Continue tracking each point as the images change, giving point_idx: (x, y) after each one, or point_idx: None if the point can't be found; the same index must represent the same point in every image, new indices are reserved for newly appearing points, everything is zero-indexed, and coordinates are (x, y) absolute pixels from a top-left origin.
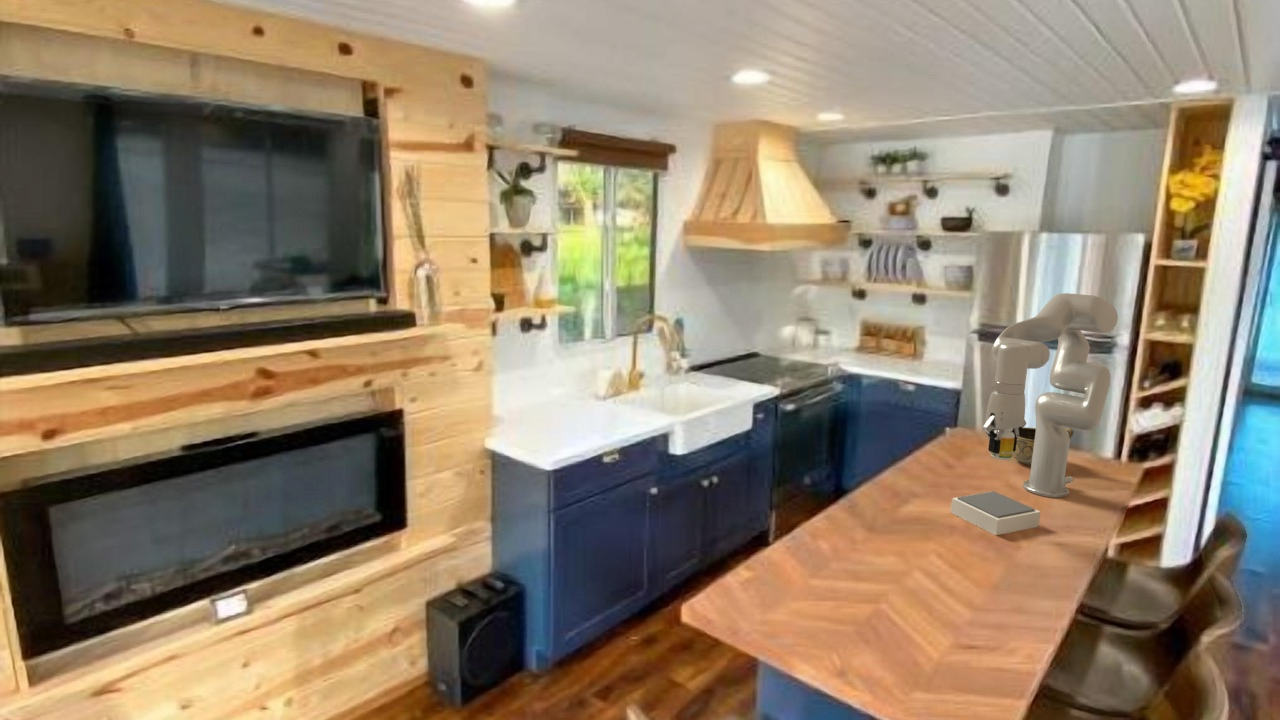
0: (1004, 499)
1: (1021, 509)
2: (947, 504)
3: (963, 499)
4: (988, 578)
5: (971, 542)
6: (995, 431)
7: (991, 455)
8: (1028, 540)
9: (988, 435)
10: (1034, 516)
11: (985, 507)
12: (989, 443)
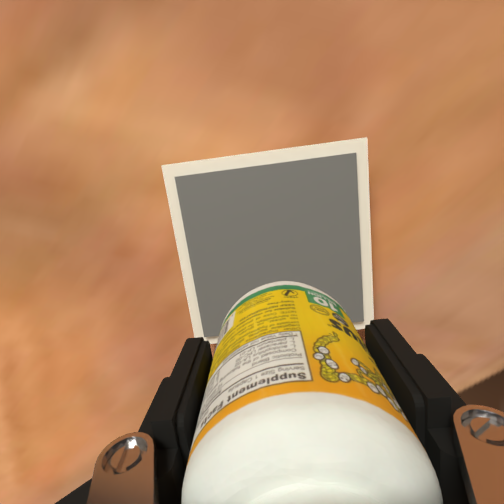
0: (330, 232)
1: None
2: (209, 99)
3: (184, 198)
4: (59, 464)
5: (119, 338)
6: (202, 501)
7: (222, 324)
8: None
9: (73, 495)
10: None
11: (213, 275)
12: (173, 377)
